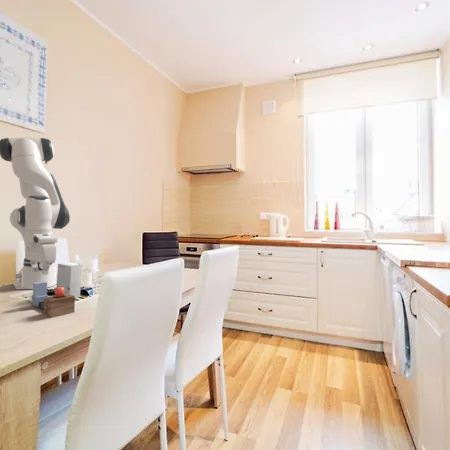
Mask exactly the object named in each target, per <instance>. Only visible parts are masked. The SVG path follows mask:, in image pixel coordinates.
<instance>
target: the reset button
mask: <svg viewBox="0 0 450 450" xmlns="http://www.w3.org/2000/svg"><path fill="white" fill-rule="evenodd" d="M54 296H55V297H63V296H64V287H57V286H56V287H54Z"/></svg>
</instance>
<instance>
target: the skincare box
mask: <svg viewBox="0 0 450 450" xmlns="http://www.w3.org/2000/svg"><path fill="white" fill-rule="evenodd" d="M82 267H83V266H82V264H81V263H77V262H70V261H67V262H59V263H57V272H56V280H57V284H56V287H64V294H66V293H68V294H70V295H73V296H75V299H78V298H81V287H82V286H81V283H82Z"/></svg>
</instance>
